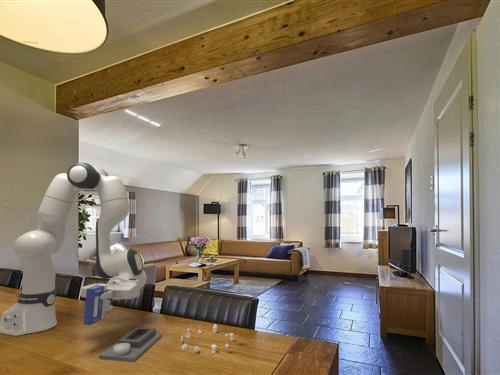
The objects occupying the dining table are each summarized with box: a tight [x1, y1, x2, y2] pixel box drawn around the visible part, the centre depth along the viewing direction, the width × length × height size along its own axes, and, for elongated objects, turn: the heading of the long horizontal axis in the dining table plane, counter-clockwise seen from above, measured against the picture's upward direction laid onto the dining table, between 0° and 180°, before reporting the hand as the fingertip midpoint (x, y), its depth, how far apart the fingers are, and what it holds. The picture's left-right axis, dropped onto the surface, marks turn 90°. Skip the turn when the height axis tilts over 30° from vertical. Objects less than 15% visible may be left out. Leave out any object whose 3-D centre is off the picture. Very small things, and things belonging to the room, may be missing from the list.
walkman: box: [83, 283, 107, 326], centre depth 106 cm, size 8×3×12 cm, turn 174°
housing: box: [98, 326, 163, 362], centre depth 105 cm, size 12×20×3 cm, turn 171°
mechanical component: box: [104, 298, 114, 314], centre depth 145 cm, size 10×4×10 cm
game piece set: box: [180, 324, 235, 354], centre depth 110 cm, size 19×20×4 cm
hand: (95, 297), depth 105 cm, fingers closed on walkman, 2 cm apart
